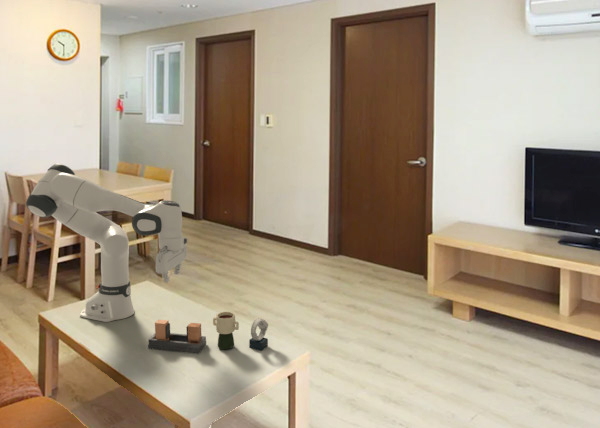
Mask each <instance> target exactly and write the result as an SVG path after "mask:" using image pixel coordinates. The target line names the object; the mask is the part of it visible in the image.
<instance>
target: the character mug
mask: <svg viewBox="0 0 600 428" xmlns="http://www.w3.org/2000/svg"><path fill="white" fill-rule="evenodd" d="M212 323H213V326H215V327H216V332H217V333H218V337H217V338H218V339H217V347H218V348H219V349H221V350H228V349H232V348H234V347H235V339H234V334H233V332H235V330H236V331H238V330H239V327H240V326H239V325H240V323H239V321H236V314H235V313H234V312H233V311H221V312H218V313H217V314H216V315H215V316H214V317H213V318H212Z"/></svg>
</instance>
